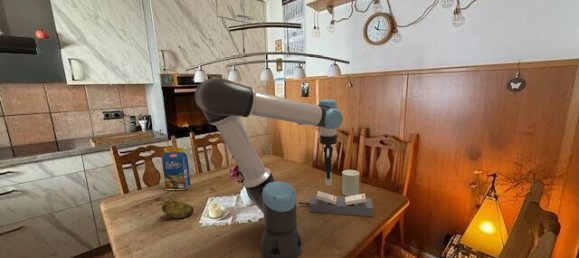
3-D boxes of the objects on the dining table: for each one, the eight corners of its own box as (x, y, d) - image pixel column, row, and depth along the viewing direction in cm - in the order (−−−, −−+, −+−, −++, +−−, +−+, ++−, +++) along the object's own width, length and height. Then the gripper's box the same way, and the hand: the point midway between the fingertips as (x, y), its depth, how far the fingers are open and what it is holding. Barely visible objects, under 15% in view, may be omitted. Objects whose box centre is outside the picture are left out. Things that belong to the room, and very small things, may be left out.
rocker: (316, 198, 114) (317, 195, 114) (317, 193, 119) (318, 190, 119) (335, 204, 113) (336, 201, 113) (335, 199, 118) (336, 196, 118)
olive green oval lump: (186, 222, 110) (184, 205, 109) (160, 220, 113) (157, 204, 111) (196, 212, 119) (194, 197, 117) (171, 211, 121) (169, 195, 119)
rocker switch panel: (297, 211, 117) (297, 200, 116) (300, 201, 126) (300, 191, 126) (373, 216, 110) (373, 205, 109) (370, 205, 120) (370, 195, 119)
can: (359, 197, 129) (360, 175, 127) (341, 196, 131) (341, 174, 129) (358, 189, 138) (359, 169, 136) (341, 188, 140) (341, 168, 138)
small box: (346, 205, 112) (345, 201, 112) (345, 200, 117) (345, 196, 117) (366, 201, 110) (365, 198, 110) (365, 196, 115) (364, 193, 115)
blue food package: (171, 186, 151) (166, 146, 146) (190, 186, 150) (186, 146, 145) (165, 191, 145) (160, 149, 140) (185, 191, 144) (181, 149, 139)
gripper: (336, 137, 104) (336, 191, 108) (336, 131, 116) (336, 179, 120) (318, 137, 105) (319, 190, 109) (320, 131, 118) (321, 179, 122)
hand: (328, 184), depth 115 cm, fingers closed
